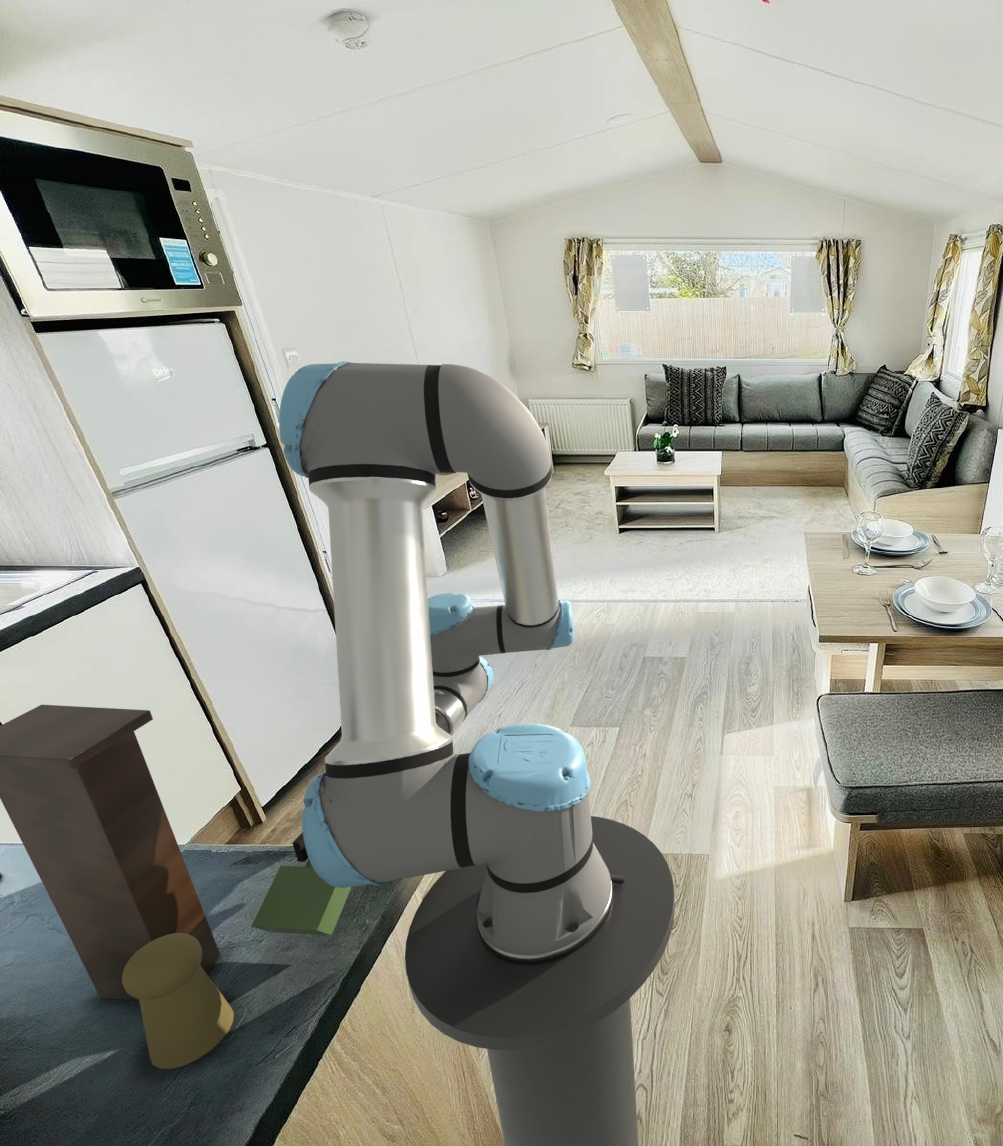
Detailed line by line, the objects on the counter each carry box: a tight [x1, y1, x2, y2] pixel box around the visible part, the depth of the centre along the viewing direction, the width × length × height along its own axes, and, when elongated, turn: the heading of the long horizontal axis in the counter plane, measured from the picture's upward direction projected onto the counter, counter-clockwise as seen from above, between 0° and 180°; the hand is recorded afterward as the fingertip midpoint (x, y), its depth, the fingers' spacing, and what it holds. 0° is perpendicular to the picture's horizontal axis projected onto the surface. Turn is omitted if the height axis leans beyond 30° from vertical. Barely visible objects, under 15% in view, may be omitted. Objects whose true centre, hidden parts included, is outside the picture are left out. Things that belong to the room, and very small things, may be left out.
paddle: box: [251, 858, 352, 936], centre depth 72 cm, size 7×15×3 cm, turn 178°
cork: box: [122, 933, 235, 1070], centre depth 58 cm, size 6×6×11 cm
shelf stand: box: [0, 704, 222, 1002], centre depth 60 cm, size 10×7×30 cm
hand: (312, 852), depth 70 cm, fingers closed on paddle, 2 cm apart
